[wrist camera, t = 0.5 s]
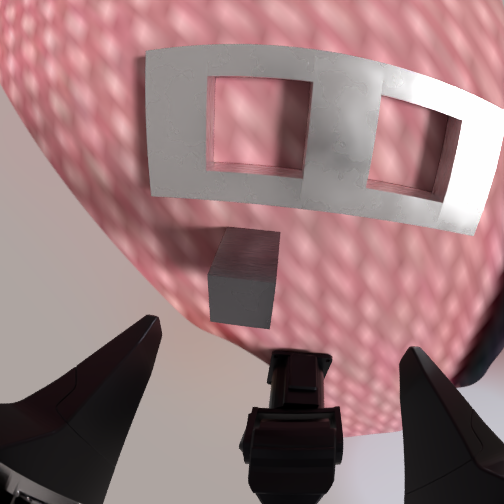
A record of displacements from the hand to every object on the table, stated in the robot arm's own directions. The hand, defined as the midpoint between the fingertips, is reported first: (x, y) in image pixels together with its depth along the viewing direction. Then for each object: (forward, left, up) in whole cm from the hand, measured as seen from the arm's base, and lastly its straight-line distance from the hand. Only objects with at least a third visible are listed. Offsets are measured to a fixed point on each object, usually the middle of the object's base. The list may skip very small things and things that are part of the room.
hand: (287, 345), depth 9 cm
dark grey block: (-5, +3, -13) cm, 14 cm away
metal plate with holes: (+5, -2, -13) cm, 14 cm away
